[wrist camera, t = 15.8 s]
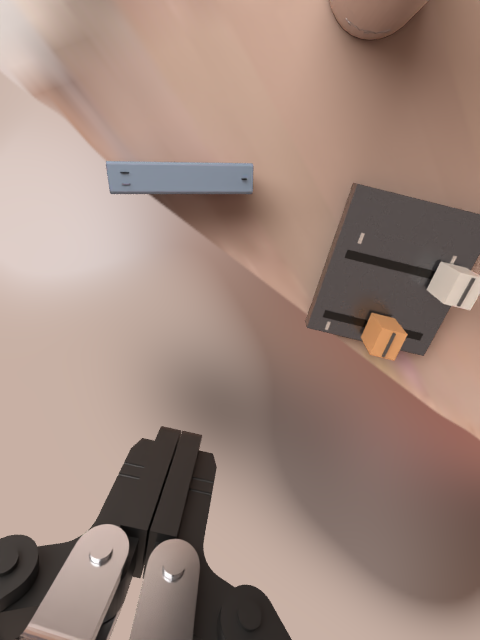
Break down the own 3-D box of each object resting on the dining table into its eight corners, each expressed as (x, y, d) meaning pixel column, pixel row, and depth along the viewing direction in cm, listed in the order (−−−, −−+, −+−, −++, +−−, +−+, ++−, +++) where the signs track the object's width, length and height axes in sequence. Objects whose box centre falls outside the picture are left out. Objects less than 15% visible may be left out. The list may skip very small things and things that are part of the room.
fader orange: (371, 312, 42) (382, 329, 38) (394, 318, 42) (408, 335, 38) (360, 337, 43) (370, 355, 39) (383, 342, 43) (394, 361, 39)
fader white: (440, 261, 38) (461, 273, 34) (465, 267, 38) (489, 280, 34) (426, 289, 40) (444, 304, 36) (450, 295, 40) (471, 311, 36)
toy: (241, 188, 42) (260, 194, 33) (112, 187, 40) (95, 194, 31) (242, 163, 41) (261, 163, 32) (109, 161, 38) (89, 161, 29)
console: (353, 182, 38) (357, 183, 36) (487, 216, 38) (499, 219, 36) (305, 321, 46) (306, 327, 44) (417, 348, 46) (424, 356, 44)
